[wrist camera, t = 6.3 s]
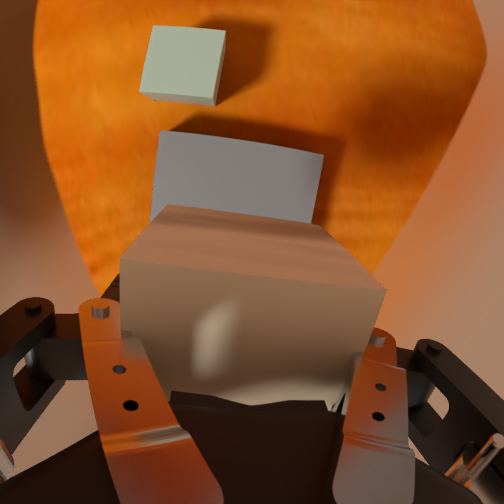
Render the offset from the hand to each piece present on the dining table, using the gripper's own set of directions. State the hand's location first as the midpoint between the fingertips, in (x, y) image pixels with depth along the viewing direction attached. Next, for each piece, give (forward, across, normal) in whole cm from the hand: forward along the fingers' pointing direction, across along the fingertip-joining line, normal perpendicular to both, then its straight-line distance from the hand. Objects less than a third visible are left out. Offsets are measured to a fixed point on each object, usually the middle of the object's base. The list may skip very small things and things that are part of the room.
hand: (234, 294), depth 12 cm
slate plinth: (+15, 0, 0) cm, 15 cm away
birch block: (+1, 0, 0) cm, 1 cm away
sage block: (+15, +5, -11) cm, 19 cm away
